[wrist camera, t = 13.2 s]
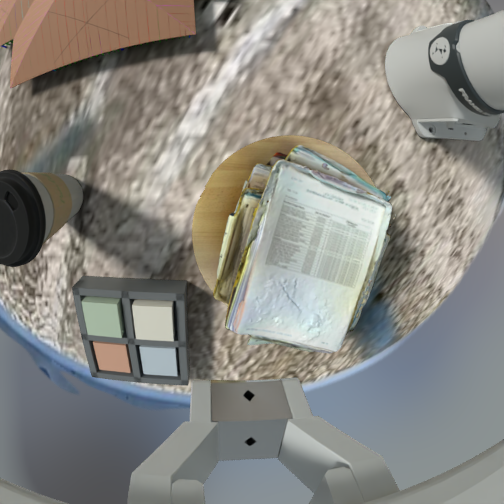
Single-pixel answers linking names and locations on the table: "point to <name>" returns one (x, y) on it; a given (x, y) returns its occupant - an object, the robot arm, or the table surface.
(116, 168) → the table surface
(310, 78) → the table surface
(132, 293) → the keypad
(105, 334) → the key sage
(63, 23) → the house
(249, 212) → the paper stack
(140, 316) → the key cream
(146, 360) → the key bluegrey
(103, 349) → the key terracotta
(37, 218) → the coffee cup
